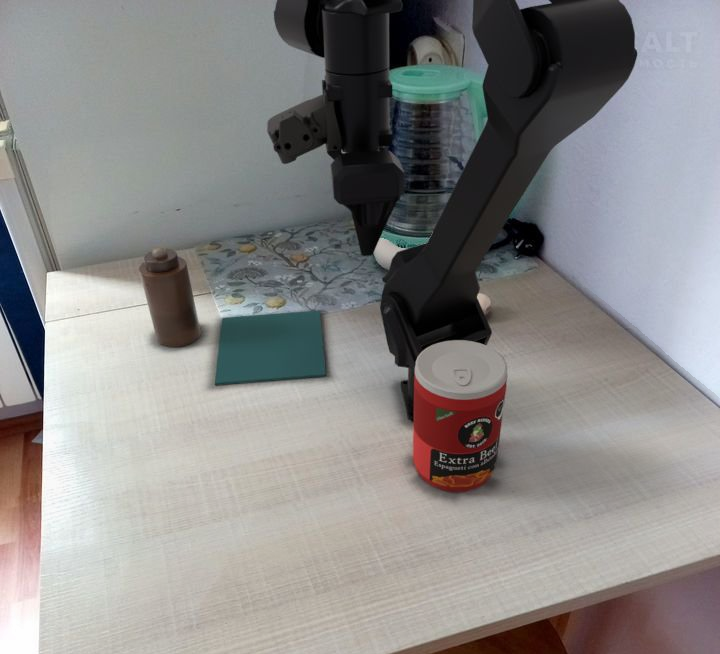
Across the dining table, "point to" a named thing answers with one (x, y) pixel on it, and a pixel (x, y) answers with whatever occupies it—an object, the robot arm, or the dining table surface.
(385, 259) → the donut
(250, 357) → the napkin
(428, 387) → the canned food
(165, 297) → the pepper mill
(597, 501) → the dining table surface
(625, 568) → the dining table surface
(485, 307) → the cream clam shell
